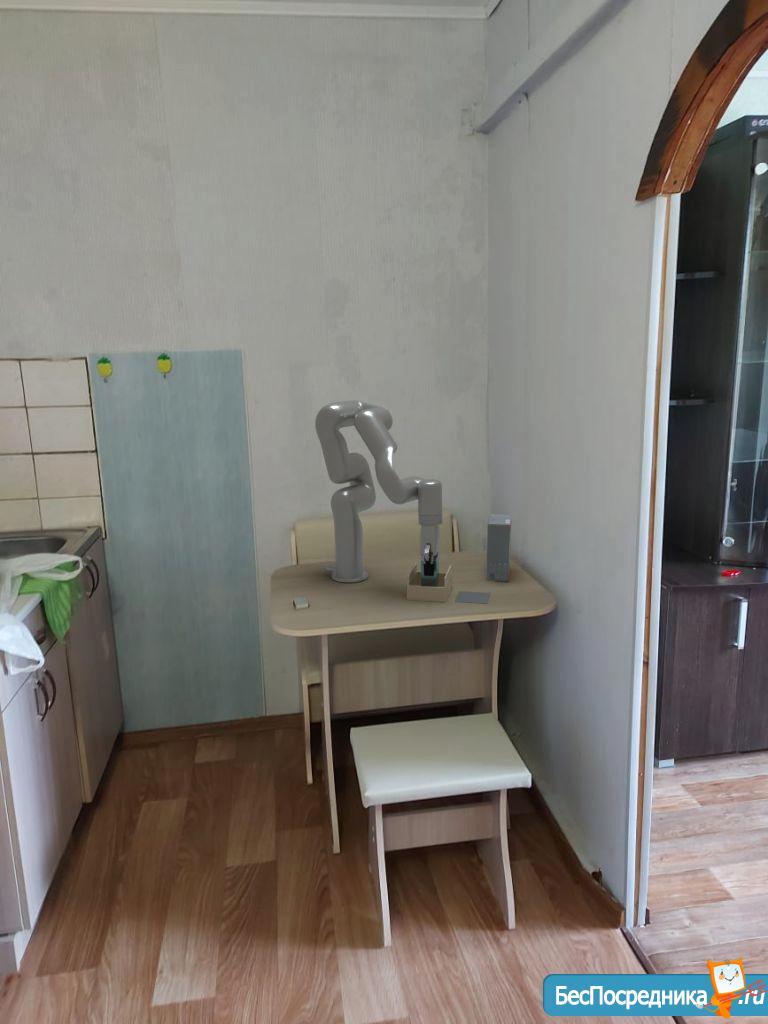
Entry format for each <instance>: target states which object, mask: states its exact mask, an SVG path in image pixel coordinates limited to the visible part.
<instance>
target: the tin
mask: <svg viewBox="0 0 768 1024" xmlns="http://www.w3.org/2000/svg"><path fill="white" fill-rule="evenodd" d="M424 555H425V554H424ZM424 555H423V556H420V571H421V586H429V587H439V572H440V553H438V554H436V555H435V556H434V557H433V563H434V576H424ZM430 558H431V557H430Z"/></svg>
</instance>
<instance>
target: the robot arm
mask: <svg viewBox="0 0 768 1024" xmlns="http://www.w3.org/2000/svg"><path fill="white" fill-rule="evenodd" d="M393 422H394V421H393V416H392V414H391V412H390V411H389V410H388V409H386V408H385V407H382V406H381V405H380V406H379V405H375V404H371V403H368V402H364V401H359V400H346V401H337V402H336V401H335V402H331V403H328V404H326V405H324V406H322V408H321V409H320V410H319V411H318V412H317V414H316V417H315V421H314V424H315V425H314V427H315V432H316V434H317V438H318V441H319V442H320V446H321V450H322V455H323V459H324V463H325V468H326V472H327V474H328V478H329V480H330V482H332V483H333V484H335V485H342V484H347V483H349V485H348V486H344V487H342V488H339V489H338V490H336V491H335V492H333V494H332V495H331V498H330V508H331V512H332V517H333V518H332V519H333V526H334V528H333V529H334V554H335V555H334V557H335V559H334V560H335V562H334V563H333V564H331V563H329V564H328V563H325V564H324V565H323V569H324V570H325V572H332V573H331V574H330V576H331V579H332V580H333V581H335V582H339V583H345V584H346V583H358V582H363V581H365V580H366V579H367V578H369V574H368V571H366V570H364V546H363V545H364V541H363V538H364V537H363V524H362V521H361V518H360V515H359V513H362V512H364V511H367V510H370V509H371V508H373V506H374V505H375V503H376V500H377V499H376V497H377V496H376V489H375V484H374V479H373V477H372V472H371V469H370V464H369V462H368V460H367V459H366V458H365V457H364V455H363V454H361V453H360V452H359V453H358V452H349V447H348V444H347V443H348V442H347V440H346V438H345V437H344V435H343V434H342V433H341V431H340V429H341V428H343V429H344V428H348V427H349V428H350V427H355V430H356V431H357V433H358V434H359V436H360V438H361V439H362V441H363V443H364V444H365V445H366V446H365V447H367V448H368V451H369V452H370V454H371V455H372V457H373V459H374V471H375V476H376V480H377V483H378V485H379V486H380V488H381V490H382V491H383V493H384V494H385V496H386V497H387V498H388V499H389V501H390V502H392V503H393V504H395V505H405V504H407V503H411V502H413V501H417V508H418V509H417V514H418V517H417V518H418V525H419V526H420V541H419V542H420V545H419V550H420V552H419V553H420V557H422V556H423V555H424V554H425V555H424V576H434V563H433V557H434V556H435V555H436V554H439V550H440V546H441V545H440V544H441V543H440V542H441V541H440V537H441V535H440V525H443V486H442V485H443V484H442V482H441V481H440V480H439V479H435V478H434V479H431V478H424V477H420V476H408V477H405V478H400V477H399V475H398V474H397V472H396V471H395V468H394V465H393V459H394V456H395V453H396V452H397V450H398V445H397V442H396V440H395V439H394V438H393V436H392V435H391V432H390V431H389V430H390V429H392V426H393ZM430 557H431V558H430Z"/></svg>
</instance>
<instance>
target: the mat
mask: <svg viewBox="0 0 768 1024" xmlns="http://www.w3.org/2000/svg"><path fill="white" fill-rule="evenodd" d="M490 595H491V592H481V591H465V590H458V593H457V595H456V598H455V601H454V602H455V603H467V604H480V605H481V604H482V605H488V604H489V600H490Z"/></svg>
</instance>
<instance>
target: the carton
mask: <svg viewBox="0 0 768 1024" xmlns="http://www.w3.org/2000/svg"><path fill="white" fill-rule="evenodd" d="M417 566H418V565H417V562H415V563H414V565H413V566H412V567H411V569H410V571H409V573H408V574H407V577H406V578H407V584H406V600H407V601H408V600H409V601H425V602H438V603H439V602H440V603H446V601H447V600H448V596H449V595H450V592H451V591H452V590H451V589H452V587H453V572H452V571H453V570H452V568H453V567H452V564H450V565H449V567H448V569H447V572H441V571H439V587H429V586H421V570H419V571H417Z"/></svg>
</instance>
